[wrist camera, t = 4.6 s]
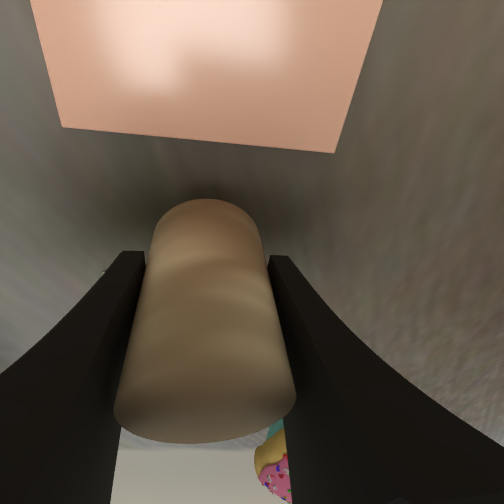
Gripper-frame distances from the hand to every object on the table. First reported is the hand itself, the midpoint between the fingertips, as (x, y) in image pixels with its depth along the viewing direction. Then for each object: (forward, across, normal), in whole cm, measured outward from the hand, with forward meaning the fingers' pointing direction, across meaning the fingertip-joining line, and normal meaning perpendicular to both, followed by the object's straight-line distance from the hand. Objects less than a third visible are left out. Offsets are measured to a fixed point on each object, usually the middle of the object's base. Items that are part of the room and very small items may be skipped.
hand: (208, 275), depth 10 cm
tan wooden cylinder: (+2, 0, 0) cm, 2 cm away
